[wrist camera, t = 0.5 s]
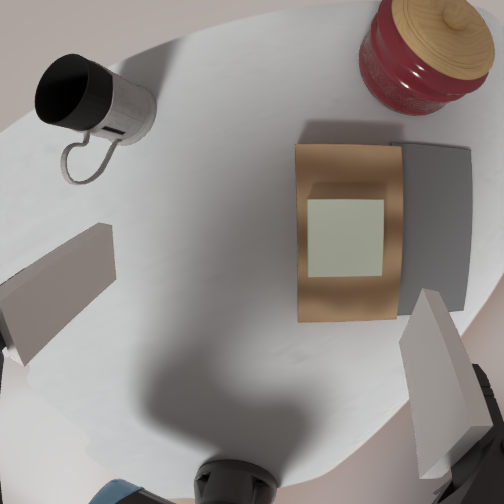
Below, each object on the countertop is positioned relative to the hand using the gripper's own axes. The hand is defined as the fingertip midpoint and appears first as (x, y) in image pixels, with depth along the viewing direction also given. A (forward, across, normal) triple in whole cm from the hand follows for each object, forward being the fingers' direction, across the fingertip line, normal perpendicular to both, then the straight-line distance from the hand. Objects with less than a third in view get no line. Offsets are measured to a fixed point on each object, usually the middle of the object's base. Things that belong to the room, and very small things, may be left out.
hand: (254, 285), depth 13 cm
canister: (+33, -11, -15) cm, 38 cm away
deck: (+27, -6, +6) cm, 28 cm away
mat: (+28, -18, +4) cm, 34 cm away
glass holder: (+27, +24, -2) cm, 36 cm away
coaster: (+23, -6, +6) cm, 24 cm away
